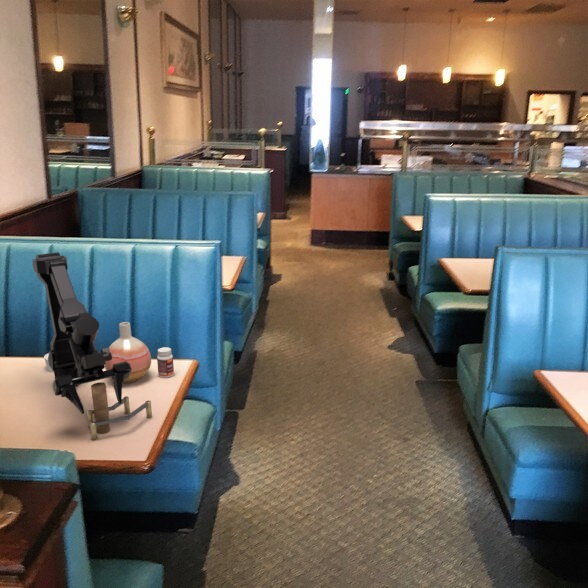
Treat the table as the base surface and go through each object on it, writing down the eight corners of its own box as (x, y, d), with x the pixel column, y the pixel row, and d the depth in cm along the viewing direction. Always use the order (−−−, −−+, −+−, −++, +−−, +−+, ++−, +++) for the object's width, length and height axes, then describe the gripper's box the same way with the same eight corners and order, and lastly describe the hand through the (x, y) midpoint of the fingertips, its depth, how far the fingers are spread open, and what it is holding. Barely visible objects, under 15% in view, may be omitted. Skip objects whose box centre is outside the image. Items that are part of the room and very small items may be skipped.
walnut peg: (94, 433, 156) (88, 388, 153) (99, 427, 160) (94, 382, 156) (107, 434, 156) (102, 388, 153) (112, 427, 160) (107, 382, 156)
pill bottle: (170, 378, 188) (168, 352, 186) (155, 377, 189) (153, 351, 187) (176, 372, 193) (174, 347, 191) (162, 371, 194) (160, 346, 191)
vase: (158, 370, 195) (154, 316, 190) (144, 388, 182) (139, 331, 177) (115, 369, 196) (110, 315, 191) (99, 387, 183) (92, 330, 178)
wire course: (78, 440, 154) (76, 423, 152) (101, 410, 169) (99, 395, 167) (137, 441, 153) (135, 425, 151) (155, 411, 168) (153, 396, 166)
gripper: (50, 347, 150) (67, 405, 144) (125, 331, 160) (144, 386, 154) (46, 366, 158) (62, 423, 153) (118, 351, 168) (136, 403, 162)
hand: (102, 408), depth 155 cm, fingers open, 9 cm apart
